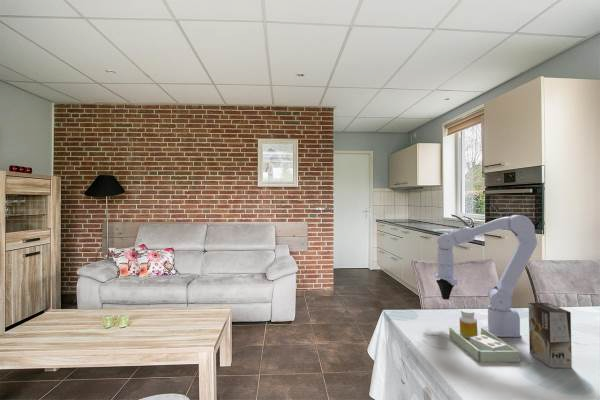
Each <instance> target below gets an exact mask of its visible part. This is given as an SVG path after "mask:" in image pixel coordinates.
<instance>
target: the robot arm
mask: <svg viewBox="0 0 600 400" xmlns="http://www.w3.org/2000/svg"><path fill="white" fill-rule="evenodd" d="M535 228H536V227H535V225H534V223H533V222H532V220H531V219H530V218H529V217H527V215H526V216H525V215H521V214H512V215H510V216H504V217H500V218H496V219H493V220H490V221H488V222H486V223H482V224H480V225H477V226H473V227H470V226H463V225H462V226H459V228H458V229H454V230H453V231H450V230H448V231H446V233H442V234H440V235H438V238H437V240H436V243H437V271H435V272H434V277H435V278H437V279H436V281H435V282H436V283H437V285H438V288H439V291H440V295H441V299H442V300H450V297H451V293H452V290H453V288H454V287H455V286H458V279H457V278H456V277H455V276H454V273H455V272H454V270H455V269H454V252H453V247H454V246H457V247H458V246H459V245H463V244H466V243H469V242H473V241H475V238H476V236H480V235H483V234H486V233H489V232H492V231H493V232H494V231H496V230H502V231H503V230H504V231H510V232H511V233H512V234H513V235H514V236H515V238H516V240H517V242H518V244H517V246H516V247H515V249H514V252H513V253H512V255H511V258H510V259H509V261H508V263H507V265H506V267H505V269H504V271H503V273H502V274H501V276H500V278H499V280H498V281H497V282H496V283H495V285H494V286H493V287H492V288H490V289H489V291H488V293H487V297H488V299H489V301H490V302H489V304H487V326H483V327H482V328H484V329H485V330H487V331H488V332H490V333H491V334H493V335H494V336H496V337H498V338H499V337H500V338H503V337H504V338H521V337H522V335H521V317H520V314H519V312H518V311H517V310H516V309H515V308H512V299H513V296H514V291H515V287H516V285H517V284H518V281H519V279H520V277H521V275H522V274H523V272H524V270H525V268H526V266H527V264H528V263H529V261H530V258H531V257H532V256H533V253H534V251H535V249H536V248H537V246H538V240H537V236H536V231H535V230H536V229H535Z"/></svg>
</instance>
